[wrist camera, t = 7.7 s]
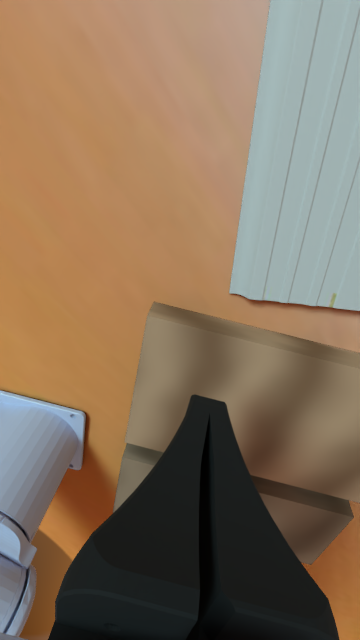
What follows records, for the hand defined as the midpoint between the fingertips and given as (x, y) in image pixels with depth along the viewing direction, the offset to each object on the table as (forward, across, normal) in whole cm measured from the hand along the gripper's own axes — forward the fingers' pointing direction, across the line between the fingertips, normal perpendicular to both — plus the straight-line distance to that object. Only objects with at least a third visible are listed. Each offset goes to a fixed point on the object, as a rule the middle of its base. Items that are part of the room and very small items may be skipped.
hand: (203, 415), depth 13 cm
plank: (+10, -6, +7) cm, 13 cm away
